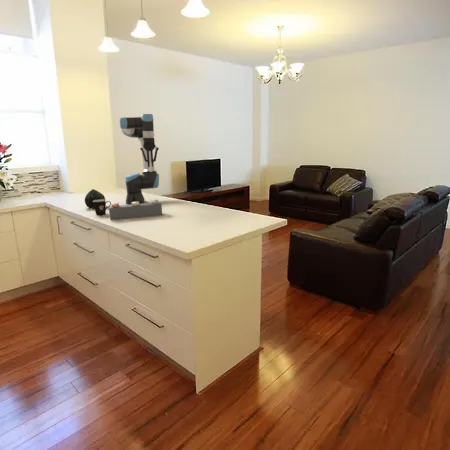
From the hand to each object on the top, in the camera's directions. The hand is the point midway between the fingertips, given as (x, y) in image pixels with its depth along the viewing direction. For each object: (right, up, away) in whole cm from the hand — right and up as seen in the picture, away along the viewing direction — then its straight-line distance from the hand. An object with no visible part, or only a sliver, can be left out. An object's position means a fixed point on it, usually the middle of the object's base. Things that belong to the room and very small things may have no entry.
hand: (150, 171), depth 242 cm
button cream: (-8, -26, -12) cm, 30 cm away
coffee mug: (-34, -31, +1) cm, 46 cm away
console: (-7, -32, -10) cm, 35 cm away
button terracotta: (-20, -28, -15) cm, 37 cm away
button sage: (+5, -25, -9) cm, 27 cm away
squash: (-48, -25, +24) cm, 59 cm away
